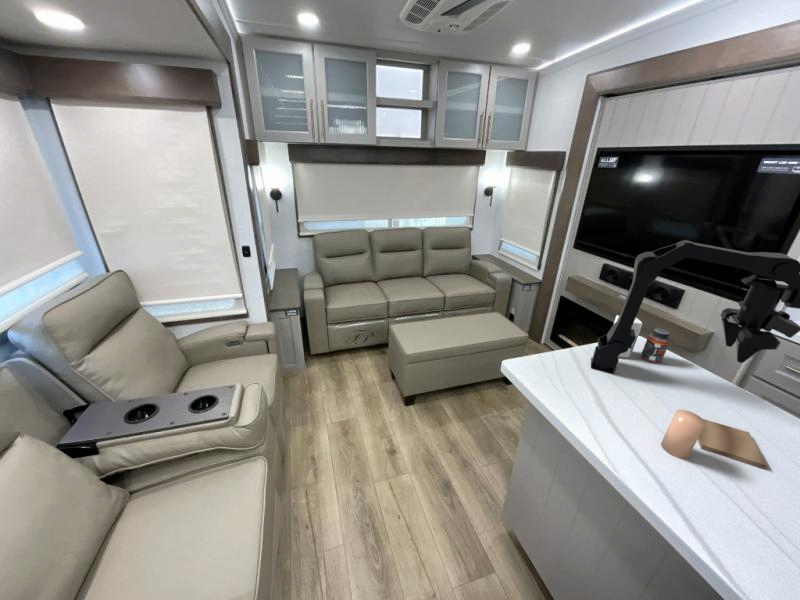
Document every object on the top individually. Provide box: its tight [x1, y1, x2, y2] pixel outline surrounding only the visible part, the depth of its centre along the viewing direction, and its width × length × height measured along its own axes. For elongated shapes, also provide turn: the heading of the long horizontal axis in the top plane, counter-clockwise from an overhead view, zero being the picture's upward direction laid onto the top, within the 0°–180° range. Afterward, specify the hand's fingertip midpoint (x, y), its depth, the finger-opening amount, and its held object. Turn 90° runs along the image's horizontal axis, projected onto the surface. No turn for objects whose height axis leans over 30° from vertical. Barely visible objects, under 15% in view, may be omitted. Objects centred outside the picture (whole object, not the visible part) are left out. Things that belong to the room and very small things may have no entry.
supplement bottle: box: [640, 328, 671, 364], centre depth 107 cm, size 6×6×11 cm
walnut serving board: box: [697, 418, 768, 470], centre depth 76 cm, size 11×11×1 cm
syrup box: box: [612, 314, 644, 359], centre depth 109 cm, size 6×6×14 cm
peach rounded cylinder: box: [660, 409, 706, 460], centre depth 72 cm, size 5×5×10 cm
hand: (734, 353), depth 86 cm, fingers open, 9 cm apart
